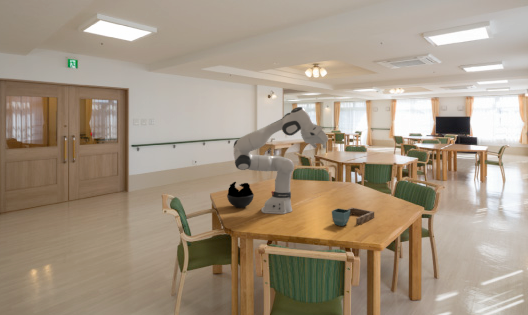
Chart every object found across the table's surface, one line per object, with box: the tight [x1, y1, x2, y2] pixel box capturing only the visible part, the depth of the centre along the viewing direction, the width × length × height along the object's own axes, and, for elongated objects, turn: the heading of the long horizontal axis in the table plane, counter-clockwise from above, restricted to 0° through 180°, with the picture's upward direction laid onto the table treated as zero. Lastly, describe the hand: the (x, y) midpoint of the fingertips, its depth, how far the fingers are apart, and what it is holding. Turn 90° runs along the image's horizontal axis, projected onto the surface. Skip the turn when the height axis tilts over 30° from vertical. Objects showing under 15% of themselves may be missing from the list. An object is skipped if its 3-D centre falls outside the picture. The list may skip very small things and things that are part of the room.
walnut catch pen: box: [346, 207, 375, 226], centre depth 216 cm, size 22×16×4 cm
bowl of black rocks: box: [226, 181, 255, 209], centre depth 245 cm, size 20×20×19 cm
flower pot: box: [331, 208, 351, 227], centre depth 203 cm, size 9×9×9 cm
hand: (320, 147), depth 204 cm, fingers open, 8 cm apart
